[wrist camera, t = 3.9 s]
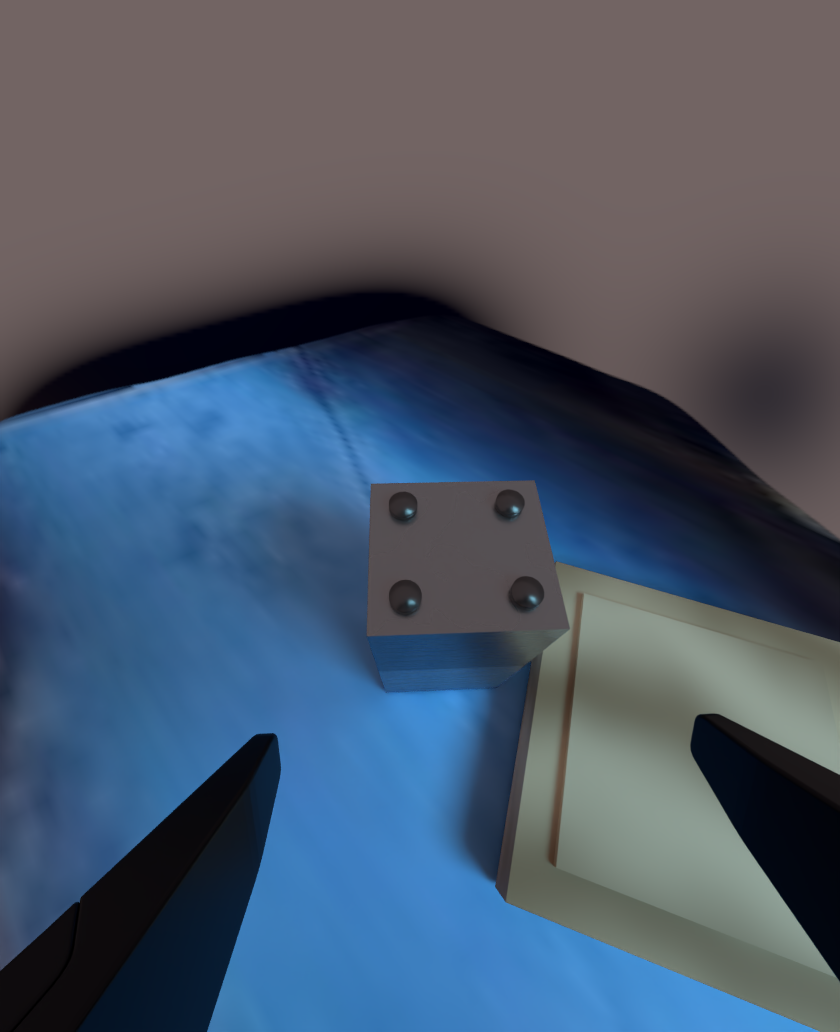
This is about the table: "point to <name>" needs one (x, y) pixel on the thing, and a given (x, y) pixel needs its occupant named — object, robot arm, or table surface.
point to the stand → (665, 788)
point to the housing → (459, 584)
